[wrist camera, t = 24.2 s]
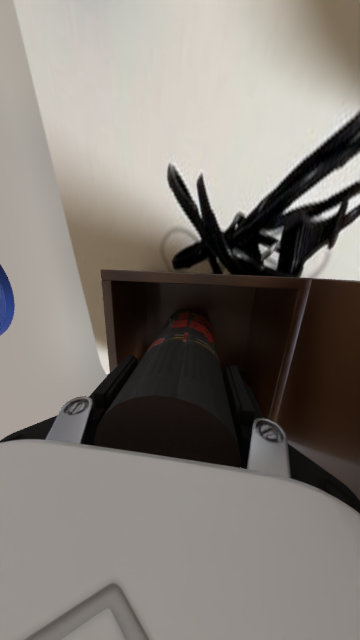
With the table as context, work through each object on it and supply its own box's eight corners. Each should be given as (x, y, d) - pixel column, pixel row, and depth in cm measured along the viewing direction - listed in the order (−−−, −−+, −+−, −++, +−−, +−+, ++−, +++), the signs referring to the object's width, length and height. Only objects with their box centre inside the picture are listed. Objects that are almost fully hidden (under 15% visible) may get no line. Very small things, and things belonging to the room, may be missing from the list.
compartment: (143, 364, 26) (113, 415, 17) (141, 270, 22) (100, 269, 13) (245, 374, 25) (273, 435, 15) (262, 275, 21) (314, 278, 11)
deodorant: (218, 345, 21) (258, 500, 7) (174, 357, 22) (130, 512, 8) (203, 301, 20) (213, 377, 5) (158, 317, 21) (68, 414, 7)
